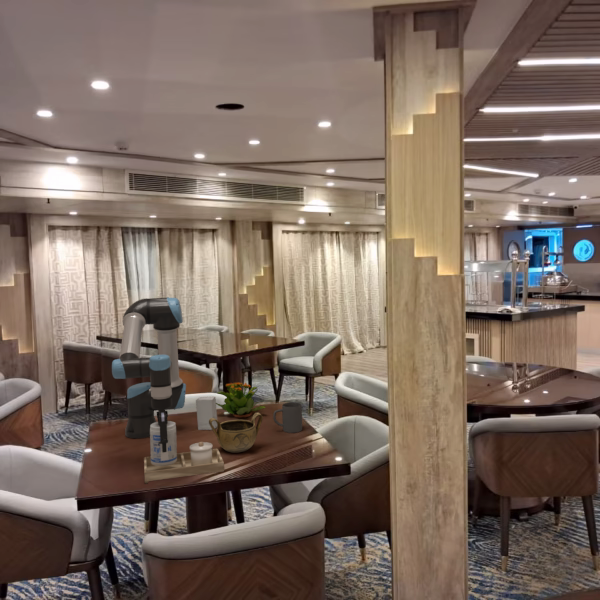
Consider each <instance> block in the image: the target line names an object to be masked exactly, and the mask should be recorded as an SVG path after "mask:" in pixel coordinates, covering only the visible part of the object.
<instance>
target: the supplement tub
mask: <svg viewBox="0 0 600 600" xmlns="http://www.w3.org/2000/svg"><path fill="white" fill-rule="evenodd" d="M176 424H177V423H176V422H174V421H171V420H168V424H167V439H168V459H169V460H165V461H161V452H160V444H158V442H160V426H159V425H158V421H156V422H155V423H153V424H151V425H150V437H149V444H150V445H149V446H150V457H151V463H152V464H153V465H155V466H168V465H171V464H174V463H175V462H176V461H177V452H178V450H177V449H178V446H177V426H176ZM163 440H166V439H163Z"/></svg>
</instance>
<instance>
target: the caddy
mask: <svg viewBox="0 0 600 600" xmlns="http://www.w3.org/2000/svg"><path fill="white" fill-rule="evenodd" d="M143 462H144V463H143V465H144V466H143V467H144V470H143V471H144V484H145V485H146V484H149V482H152V481H161V480H167V479H175V478H183V477H191V476H198V475H206V474H216V473H221V472H225V463H224V459H223V457H222V455H221V453H220V451H219V448H212V463H211V464H204V465H196V466H191V451H186V452H185V451H184V452H179V453H177V461H176V462H175V463H174V464H171V465H168V466H155V465H153V464H152V463H151V456H145V457H143Z"/></svg>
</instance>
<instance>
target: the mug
mask: <svg viewBox="0 0 600 600" xmlns="http://www.w3.org/2000/svg"><path fill="white" fill-rule="evenodd" d="M302 407H303V406H302V403H300V402H295V401H294V402H293V401H292V402H291V401H290V402H285V403H283V404H282V406H281V409H280V408H279V409H276V410H274V412H273V415H272V417H273V418H272V419H273V421H274V423H275V424H276V425H277V426H280V427H282V430H283V432H284V433H289V434H290V433H291V434H296V433H300V432H301V431H303V408H302ZM277 413H282V414H281V415H282V416H281V418H282V423H281V422H279V421H278V420H277V417H276V416H277Z"/></svg>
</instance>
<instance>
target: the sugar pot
mask: <svg viewBox="0 0 600 600" xmlns="http://www.w3.org/2000/svg"><path fill="white" fill-rule="evenodd" d="M212 449H213V443H211V442H207V441H199V442H196V443H192V444H190V445H189V450H190V452H191V466H196V465H204V464H211V463H212Z"/></svg>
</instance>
